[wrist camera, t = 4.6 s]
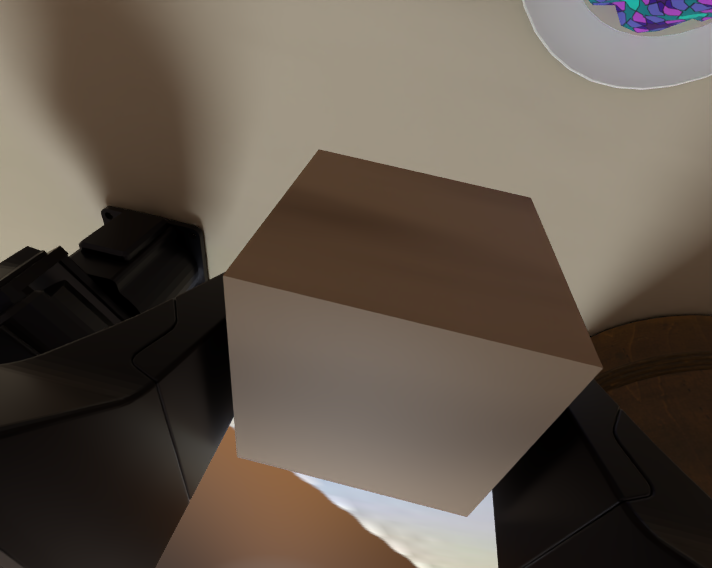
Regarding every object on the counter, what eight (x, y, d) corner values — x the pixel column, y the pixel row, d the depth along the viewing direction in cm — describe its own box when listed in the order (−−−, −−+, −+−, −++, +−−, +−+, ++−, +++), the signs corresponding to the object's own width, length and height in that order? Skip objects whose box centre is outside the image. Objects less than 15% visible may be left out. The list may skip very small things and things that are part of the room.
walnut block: (458, 343, 12) (467, 516, 8) (303, 305, 12) (237, 457, 8) (530, 198, 9) (602, 368, 5) (318, 149, 9) (222, 274, 5)
